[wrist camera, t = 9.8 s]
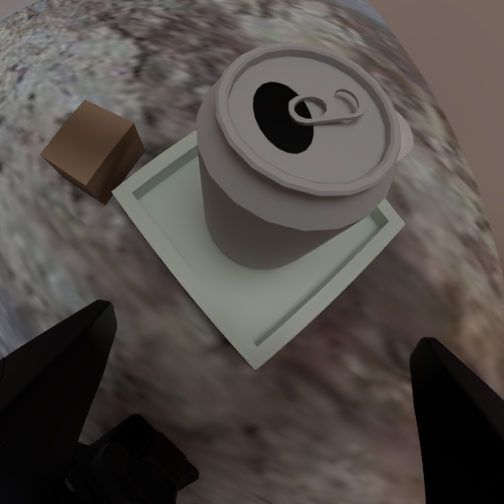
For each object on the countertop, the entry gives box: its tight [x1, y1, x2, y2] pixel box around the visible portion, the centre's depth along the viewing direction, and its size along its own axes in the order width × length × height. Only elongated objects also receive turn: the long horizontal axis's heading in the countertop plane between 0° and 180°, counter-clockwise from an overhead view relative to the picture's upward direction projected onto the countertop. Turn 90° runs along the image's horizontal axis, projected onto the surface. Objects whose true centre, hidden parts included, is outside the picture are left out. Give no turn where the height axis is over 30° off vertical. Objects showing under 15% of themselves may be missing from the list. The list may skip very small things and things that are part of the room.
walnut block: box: [41, 100, 145, 205], centre depth 19 cm, size 5×5×4 cm
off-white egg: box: [395, 110, 413, 164], centre depth 22 cm, size 5×5×4 cm
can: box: [197, 42, 401, 269], centre depth 14 cm, size 8×8×12 cm
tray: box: [112, 130, 405, 370], centre depth 20 cm, size 14×14×2 cm
